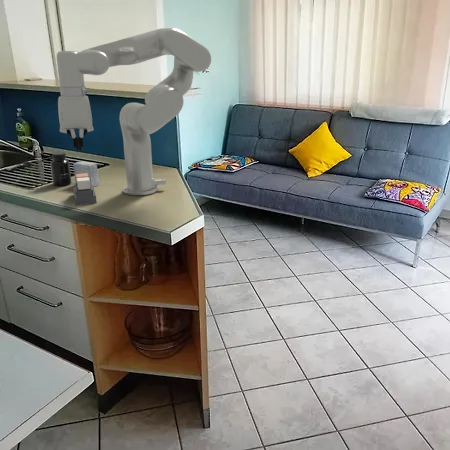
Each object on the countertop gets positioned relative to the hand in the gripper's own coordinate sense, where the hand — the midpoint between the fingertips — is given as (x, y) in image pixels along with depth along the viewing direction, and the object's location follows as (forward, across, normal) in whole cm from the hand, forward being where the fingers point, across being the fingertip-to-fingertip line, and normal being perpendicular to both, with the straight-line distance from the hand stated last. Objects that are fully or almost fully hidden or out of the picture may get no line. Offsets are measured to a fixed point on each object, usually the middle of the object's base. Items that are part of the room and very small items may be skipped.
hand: (78, 149), depth 156 cm
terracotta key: (+13, 0, -6) cm, 14 cm away
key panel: (+18, 0, -3) cm, 18 cm away
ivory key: (+13, 0, 0) cm, 13 cm away
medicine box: (+18, -2, -20) cm, 27 cm away
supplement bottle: (+18, +7, -25) cm, 31 cm away
